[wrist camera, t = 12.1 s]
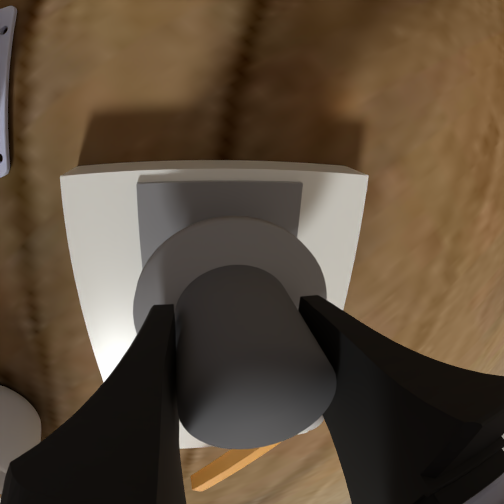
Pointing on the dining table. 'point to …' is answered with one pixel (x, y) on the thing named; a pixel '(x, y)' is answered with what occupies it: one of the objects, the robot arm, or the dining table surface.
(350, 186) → the socket board
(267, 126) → the dining table surface
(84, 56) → the dining table surface
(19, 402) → the cup
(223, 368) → the plug
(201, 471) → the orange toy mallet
